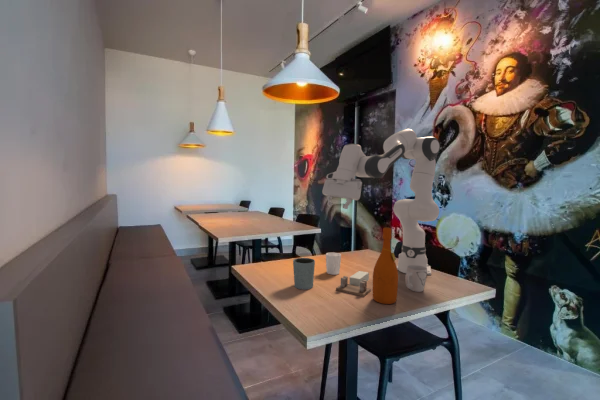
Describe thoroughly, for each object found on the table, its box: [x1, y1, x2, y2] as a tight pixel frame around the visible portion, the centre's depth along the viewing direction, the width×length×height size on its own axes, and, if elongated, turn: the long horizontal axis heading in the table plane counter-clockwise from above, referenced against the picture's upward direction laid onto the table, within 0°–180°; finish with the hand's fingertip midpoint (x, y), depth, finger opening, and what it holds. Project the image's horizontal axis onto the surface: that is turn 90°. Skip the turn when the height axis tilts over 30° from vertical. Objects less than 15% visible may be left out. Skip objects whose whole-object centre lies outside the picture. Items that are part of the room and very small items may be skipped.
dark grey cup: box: [292, 257, 316, 290], centre depth 138 cm, size 10×10×12 cm
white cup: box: [325, 251, 342, 276], centre depth 159 cm, size 8×8×10 cm
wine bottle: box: [372, 226, 399, 305], centre depth 122 cm, size 10×10×30 cm
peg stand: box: [335, 275, 372, 298], centre depth 133 cm, size 8×13×5 cm, turn 57°
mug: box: [404, 265, 427, 293], centre depth 136 cm, size 11×8×10 cm
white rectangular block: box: [348, 270, 370, 286], centre depth 145 cm, size 12×5×4 cm, turn 148°
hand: (336, 207), depth 137 cm, fingers open, 8 cm apart
